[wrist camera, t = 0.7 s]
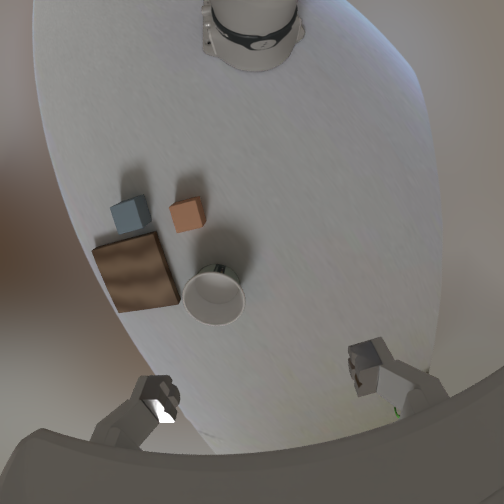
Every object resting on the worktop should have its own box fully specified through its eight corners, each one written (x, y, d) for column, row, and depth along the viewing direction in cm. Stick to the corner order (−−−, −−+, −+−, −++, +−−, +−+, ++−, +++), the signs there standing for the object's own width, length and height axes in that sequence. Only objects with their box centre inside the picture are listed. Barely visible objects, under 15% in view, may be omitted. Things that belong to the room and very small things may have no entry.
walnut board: (95, 247, 53) (91, 250, 52) (156, 230, 52) (152, 234, 50) (122, 308, 59) (118, 313, 57) (180, 299, 58) (178, 304, 56)
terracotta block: (175, 202, 50) (168, 207, 46) (199, 195, 50) (195, 200, 46) (182, 226, 52) (176, 233, 48) (206, 220, 51) (202, 227, 48)
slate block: (121, 201, 50) (109, 207, 45) (144, 194, 49) (133, 199, 45) (129, 226, 52) (118, 234, 47) (152, 220, 51) (142, 228, 47)
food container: (186, 257, 54) (179, 271, 48) (246, 258, 54) (245, 273, 48) (191, 307, 59) (185, 324, 53) (246, 309, 59) (245, 327, 53)
